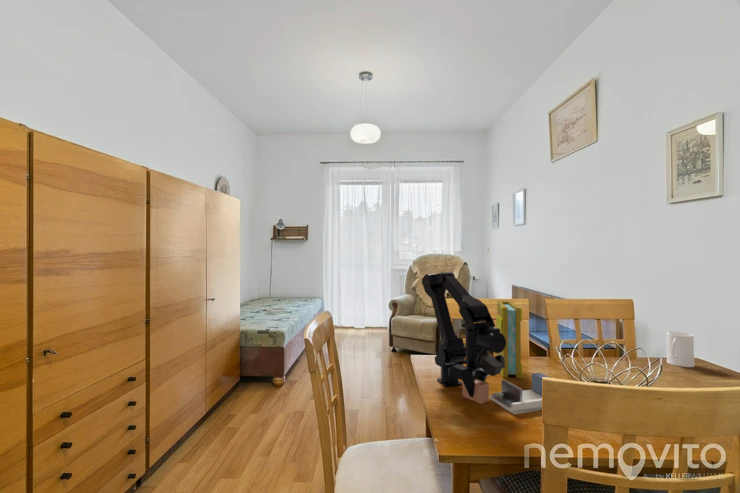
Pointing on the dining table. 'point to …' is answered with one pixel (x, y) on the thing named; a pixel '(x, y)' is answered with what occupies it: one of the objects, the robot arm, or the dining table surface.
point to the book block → (478, 392)
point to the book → (510, 336)
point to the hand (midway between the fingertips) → (475, 395)
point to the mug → (680, 349)
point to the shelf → (527, 397)
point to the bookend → (509, 393)
